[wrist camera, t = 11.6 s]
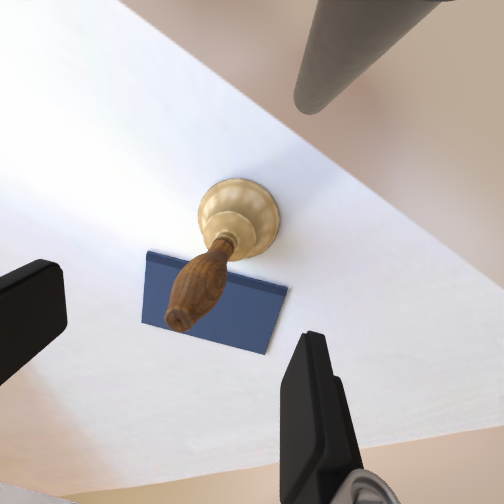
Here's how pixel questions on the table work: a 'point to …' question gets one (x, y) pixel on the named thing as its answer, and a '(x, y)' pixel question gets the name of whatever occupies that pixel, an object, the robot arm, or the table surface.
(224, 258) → the hand bell
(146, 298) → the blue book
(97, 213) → the table surface
